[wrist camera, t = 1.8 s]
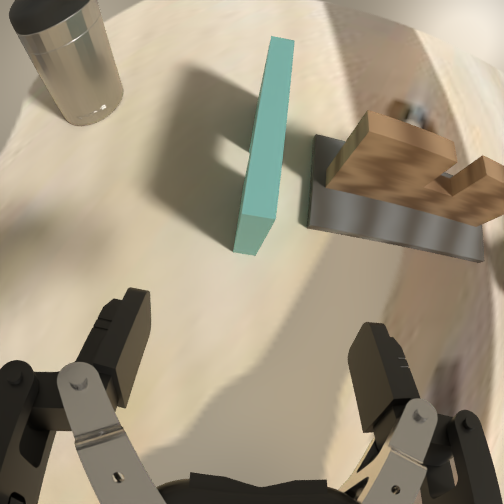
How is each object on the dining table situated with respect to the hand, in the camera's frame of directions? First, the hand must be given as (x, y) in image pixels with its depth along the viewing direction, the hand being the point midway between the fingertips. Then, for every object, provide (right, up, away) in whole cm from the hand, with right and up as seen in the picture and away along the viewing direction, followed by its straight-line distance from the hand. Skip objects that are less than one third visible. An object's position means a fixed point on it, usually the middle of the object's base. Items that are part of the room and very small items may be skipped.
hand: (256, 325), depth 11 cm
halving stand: (+20, +9, +26) cm, 34 cm away
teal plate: (0, +12, +25) cm, 28 cm away
